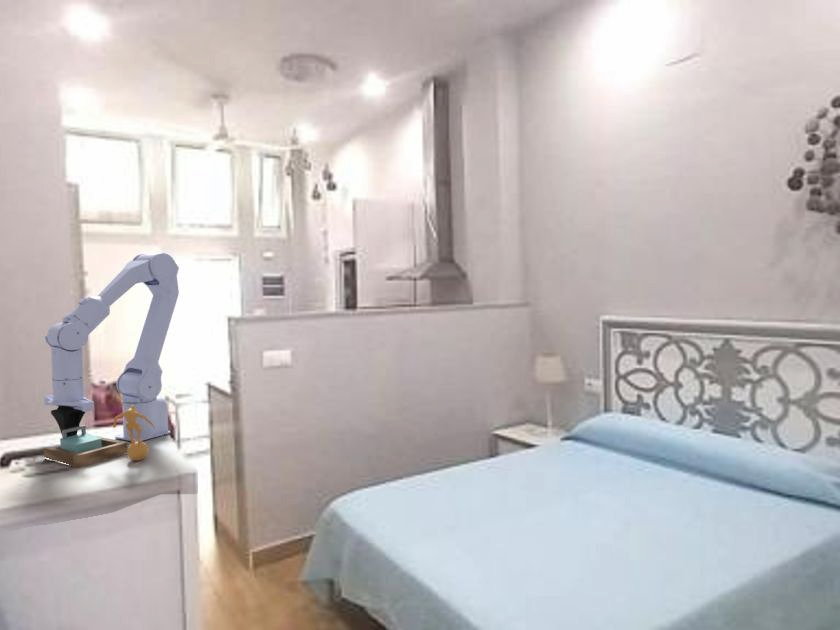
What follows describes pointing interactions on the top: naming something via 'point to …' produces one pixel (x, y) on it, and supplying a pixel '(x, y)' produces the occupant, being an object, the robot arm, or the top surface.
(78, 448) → the mint block
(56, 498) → the top surface
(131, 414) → the figurine
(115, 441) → the dock
